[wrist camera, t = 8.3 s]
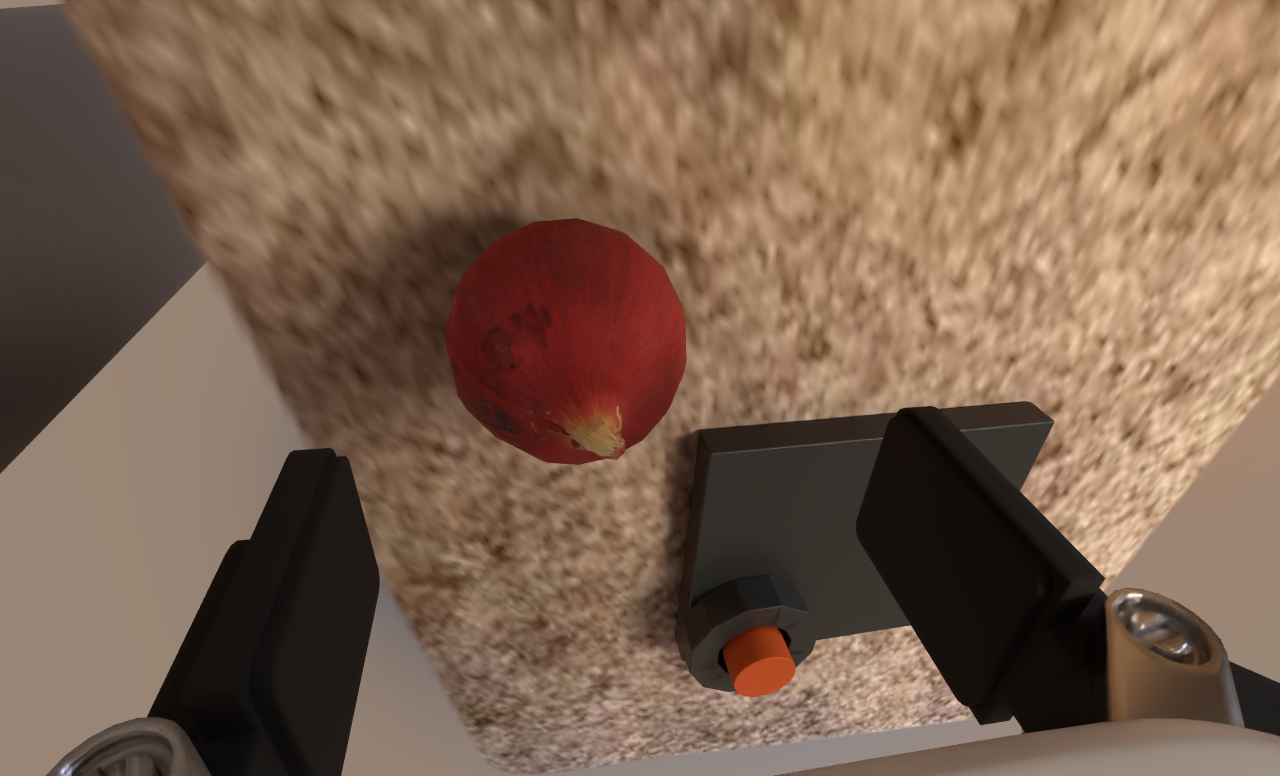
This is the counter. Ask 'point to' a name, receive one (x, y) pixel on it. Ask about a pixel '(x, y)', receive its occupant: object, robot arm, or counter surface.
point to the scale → (804, 529)
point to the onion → (567, 341)
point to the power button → (758, 661)
